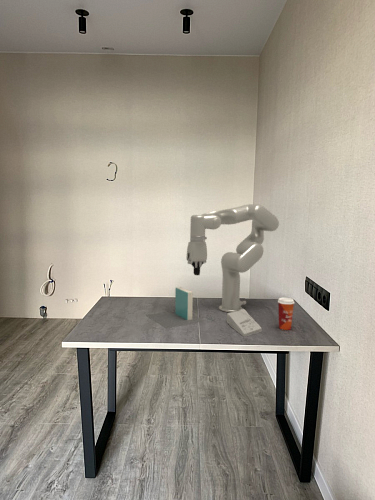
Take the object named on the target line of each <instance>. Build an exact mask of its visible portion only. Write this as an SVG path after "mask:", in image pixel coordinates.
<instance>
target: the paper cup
mask: <svg viewBox="0 0 375 500" xmlns="http://www.w3.org/2000/svg"><path fill="white" fill-rule="evenodd" d="M277 303H278V304H277V305H278V307H277V308H278V311H277V312H278V328H279V329H280V330H282V329H283V330H284V331H289V330H290V331H291V329H292V323H293V314H294V306H295V301H294V299H293V298H290V297H279V298H278V300H277Z"/></svg>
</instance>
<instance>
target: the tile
mask: <svg viewBox="0 0 375 500" xmlns="http://www.w3.org/2000/svg"><path fill="white" fill-rule="evenodd" d="M174 291H175V294H174V295H175V297H174V298H175V300H174V301H175V302H174V303H175V306H174V307H175V310H174V311H175V314H177V315H178V316H180V317H182V318H184V319H186V320H192V314H193V303H194V302H193V299H194V297H193V294H194V292H193V291H191V290H188V289H186V288H184V287H181V286H178V287H175V290H174Z"/></svg>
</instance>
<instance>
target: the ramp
mask: <svg viewBox="0 0 375 500" xmlns="http://www.w3.org/2000/svg"><path fill="white" fill-rule="evenodd" d="M226 323H228V325H229V326H230V328H231V329H233V330H234V331H236V332H237V333H238V334H240V335H241V336H243V337H244V338H245V337H246V338H247V337H248V336H252V335H257V334H260V333H262V331H263V330H262V327H261V325H260V324H259V323H258V322H257V321H255V319H254V318H253V317H252V316H251V315H250V314H249V313H248V311H247V310H246V309H244V308H242V309H241V310H240V311H236V312H226Z"/></svg>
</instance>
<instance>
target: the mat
mask: <svg viewBox="0 0 375 500" xmlns="http://www.w3.org/2000/svg"><path fill="white" fill-rule="evenodd" d="M146 317H148V318H149V319H151V320H153V322H155V323H156V324H158V325H160V326H162V328H165V329H170V328H174V327H180V326H185V325H191V324H195V323H201V322H206V320H204V319H203V318H201V317H198V316H197V315H195V314H193V313H192V320H186V319H184V318H182V317H180V316H178V315H177V314H175V310H172V311H167V312H159V313H153V314H148V315H147V314H146Z"/></svg>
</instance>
